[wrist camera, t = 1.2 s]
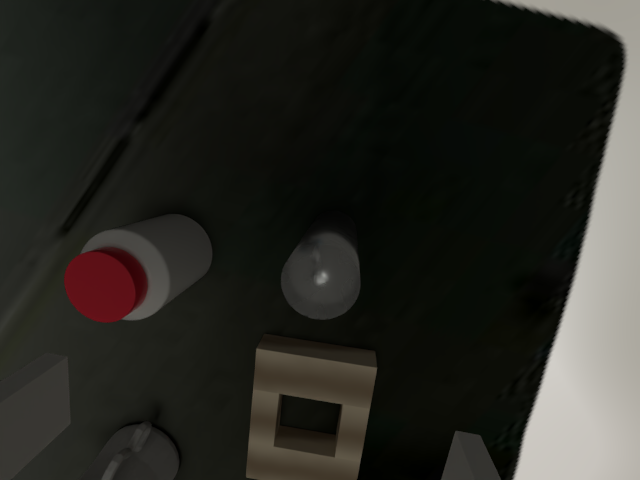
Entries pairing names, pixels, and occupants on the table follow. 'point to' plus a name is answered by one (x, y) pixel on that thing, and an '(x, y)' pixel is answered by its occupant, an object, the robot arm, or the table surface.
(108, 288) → the pill bottle
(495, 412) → the table surface
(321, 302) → the grey cylindrical peg
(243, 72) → the table surface
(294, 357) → the jig
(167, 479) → the mug
